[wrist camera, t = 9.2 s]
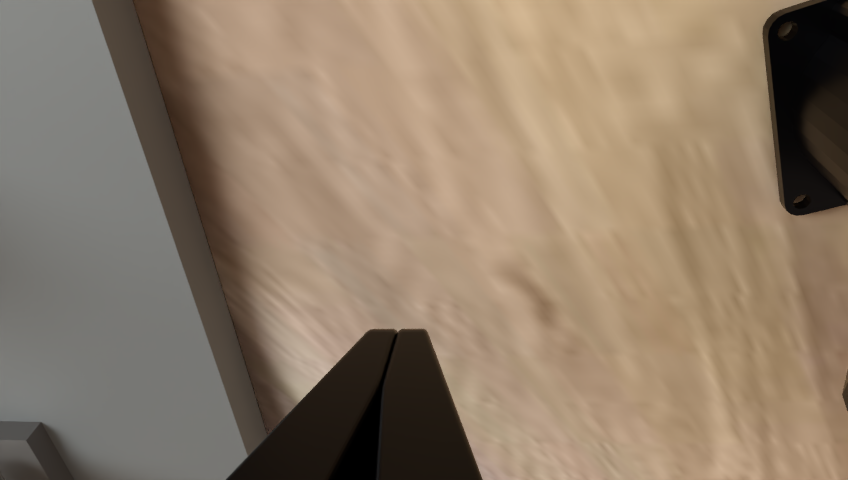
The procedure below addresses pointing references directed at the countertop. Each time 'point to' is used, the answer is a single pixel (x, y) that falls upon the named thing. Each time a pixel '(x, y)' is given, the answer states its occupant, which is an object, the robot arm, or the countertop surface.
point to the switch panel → (106, 266)
